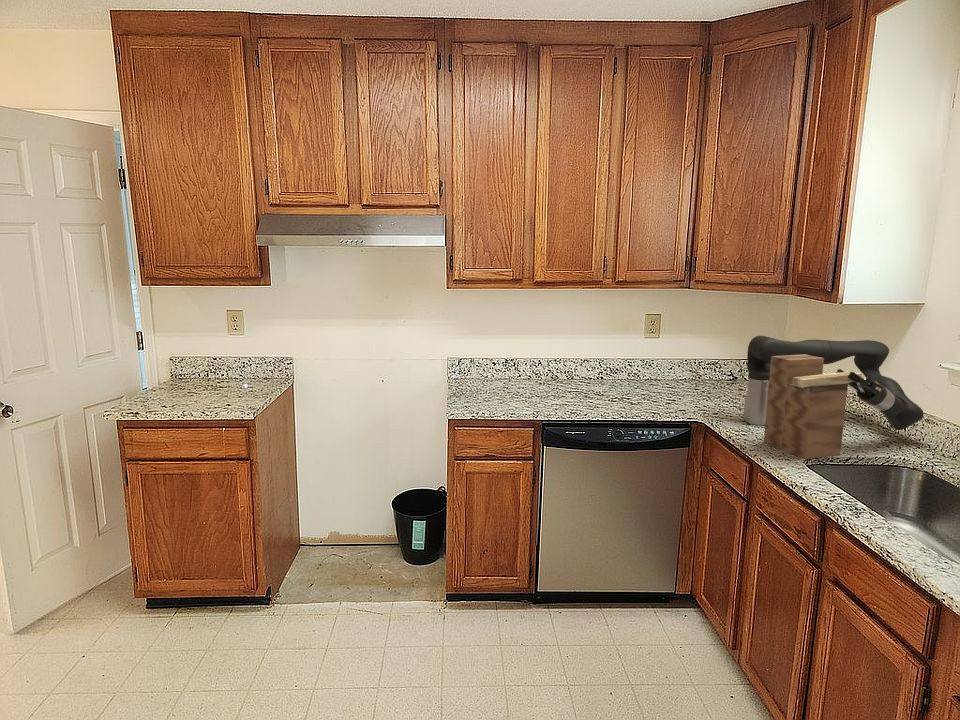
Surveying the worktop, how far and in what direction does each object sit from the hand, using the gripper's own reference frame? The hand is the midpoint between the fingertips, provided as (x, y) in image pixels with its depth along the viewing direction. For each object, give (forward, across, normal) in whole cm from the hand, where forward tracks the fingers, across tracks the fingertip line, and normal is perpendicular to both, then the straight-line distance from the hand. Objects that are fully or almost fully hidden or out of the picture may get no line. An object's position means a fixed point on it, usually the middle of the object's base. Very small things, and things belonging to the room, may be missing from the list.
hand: (844, 373), depth 200 cm
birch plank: (+4, 0, +6) cm, 7 cm away
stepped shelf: (-4, -4, +28) cm, 28 cm away
